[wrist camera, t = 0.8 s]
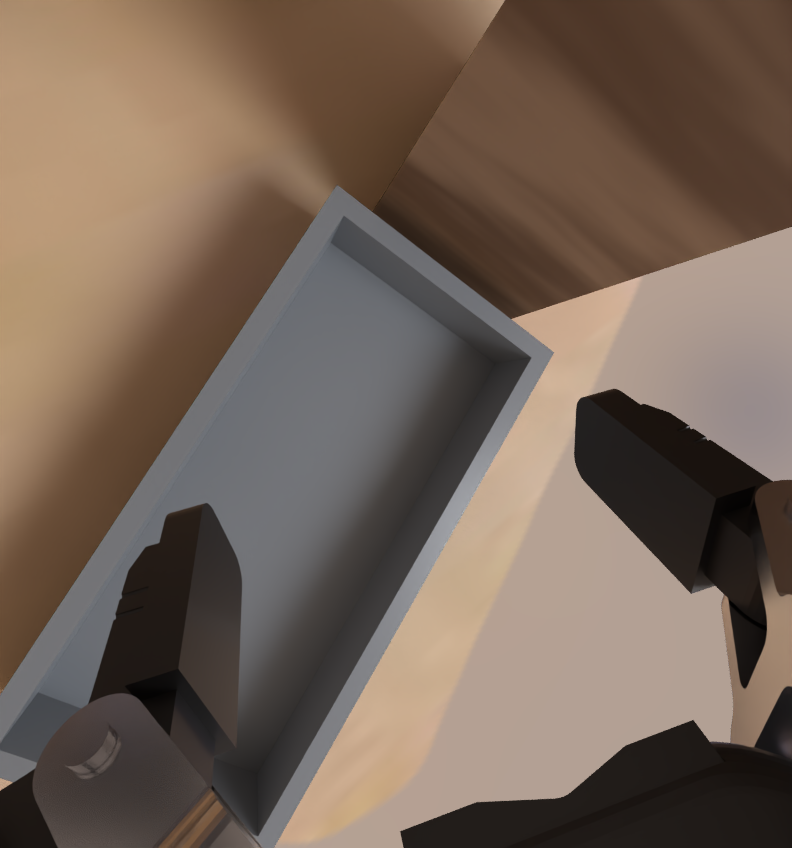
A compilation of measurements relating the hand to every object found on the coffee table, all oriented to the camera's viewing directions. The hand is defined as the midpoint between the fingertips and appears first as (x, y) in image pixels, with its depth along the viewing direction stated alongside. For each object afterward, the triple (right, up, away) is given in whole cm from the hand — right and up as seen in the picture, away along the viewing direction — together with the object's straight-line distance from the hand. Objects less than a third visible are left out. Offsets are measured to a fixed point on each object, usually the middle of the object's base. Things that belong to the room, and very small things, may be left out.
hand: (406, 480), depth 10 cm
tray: (-6, -3, +17) cm, 18 cm away
